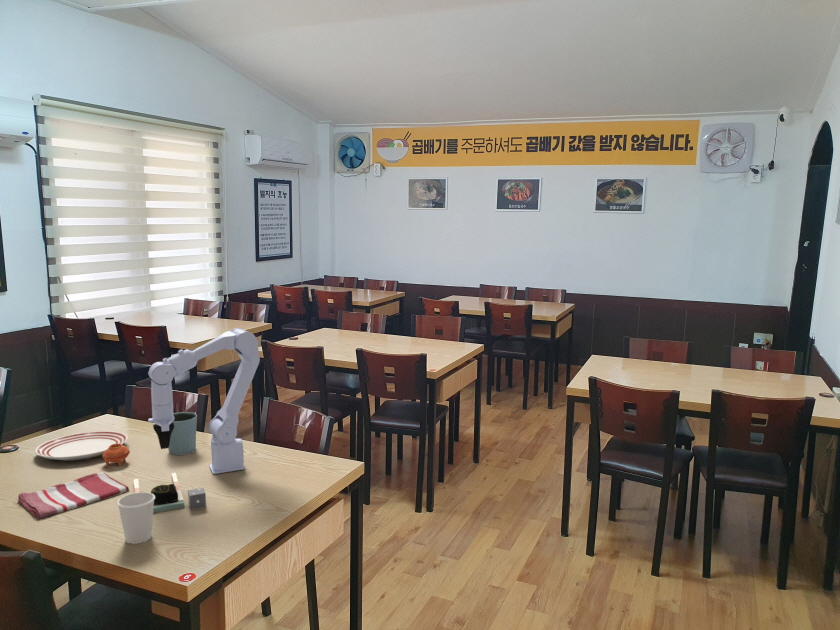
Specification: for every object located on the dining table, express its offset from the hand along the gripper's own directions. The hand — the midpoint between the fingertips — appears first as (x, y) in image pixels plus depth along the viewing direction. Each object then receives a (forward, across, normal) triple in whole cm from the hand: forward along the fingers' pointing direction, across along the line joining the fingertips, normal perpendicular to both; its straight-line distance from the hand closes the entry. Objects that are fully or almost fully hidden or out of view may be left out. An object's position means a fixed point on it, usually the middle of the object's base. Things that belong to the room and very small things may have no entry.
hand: (164, 447), depth 185 cm
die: (+10, +22, +6) cm, 25 cm away
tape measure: (+10, +15, -1) cm, 18 cm away
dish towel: (+11, +1, -24) cm, 26 cm away
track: (+10, +10, -3) cm, 14 cm away
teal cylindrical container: (+10, -24, +7) cm, 27 cm away
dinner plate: (+10, -38, -23) cm, 46 cm away
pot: (+10, -21, -13) cm, 27 cm away
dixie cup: (+10, +35, -9) cm, 38 cm away
